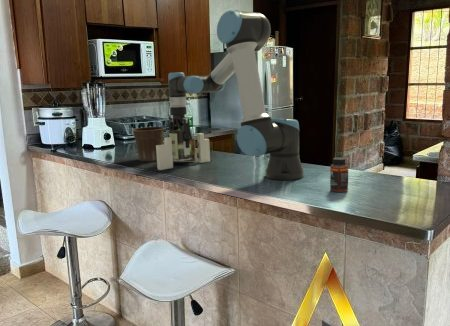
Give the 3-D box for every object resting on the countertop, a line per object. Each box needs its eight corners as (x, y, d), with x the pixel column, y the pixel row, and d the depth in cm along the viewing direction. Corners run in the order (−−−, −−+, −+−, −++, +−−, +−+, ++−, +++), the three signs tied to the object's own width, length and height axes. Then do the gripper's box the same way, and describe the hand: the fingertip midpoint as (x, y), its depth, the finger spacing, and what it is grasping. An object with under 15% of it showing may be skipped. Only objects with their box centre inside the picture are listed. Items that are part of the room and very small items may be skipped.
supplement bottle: (351, 190, 145) (351, 157, 142) (343, 193, 140) (343, 160, 138) (335, 187, 149) (335, 156, 146) (326, 191, 144) (327, 158, 142)
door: (197, 160, 207) (196, 138, 205) (195, 161, 204) (193, 139, 202) (172, 160, 210) (170, 138, 208) (169, 161, 207) (168, 139, 205)
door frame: (210, 161, 206) (208, 132, 203) (160, 170, 190) (158, 139, 187) (207, 160, 208) (206, 132, 205) (157, 169, 191) (155, 138, 189)
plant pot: (143, 164, 205) (140, 131, 202) (129, 159, 218) (127, 128, 215) (172, 159, 215) (170, 128, 212) (157, 155, 228) (155, 126, 224)
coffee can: (194, 157, 204) (193, 128, 201) (188, 161, 194) (186, 130, 191) (174, 157, 206) (172, 128, 203) (167, 161, 196) (165, 131, 193)
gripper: (159, 106, 202) (162, 152, 206) (184, 107, 184) (187, 157, 188) (172, 105, 206) (175, 150, 210) (198, 106, 189) (200, 155, 193)
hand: (180, 153), depth 199 cm, fingers closed on coffee can, 10 cm apart
